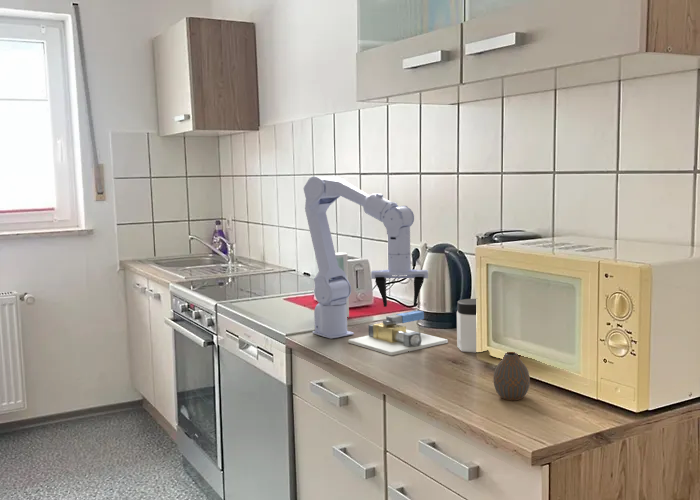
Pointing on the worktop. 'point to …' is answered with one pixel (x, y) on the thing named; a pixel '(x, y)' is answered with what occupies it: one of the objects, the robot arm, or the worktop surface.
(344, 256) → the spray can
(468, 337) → the jar
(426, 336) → the board
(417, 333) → the valve
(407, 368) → the worktop surface
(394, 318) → the lever
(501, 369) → the vase
